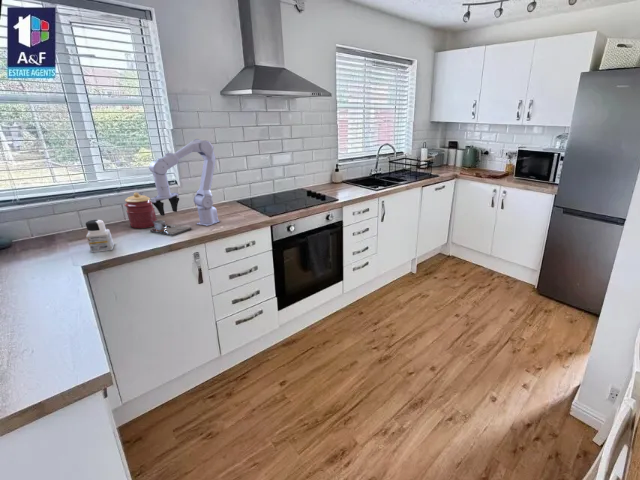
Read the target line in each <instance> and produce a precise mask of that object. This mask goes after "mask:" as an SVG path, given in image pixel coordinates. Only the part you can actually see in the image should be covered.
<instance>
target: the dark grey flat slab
mask: <svg viewBox="0 0 640 480" xmlns="http://www.w3.org/2000/svg"><path fill="white" fill-rule="evenodd" d="M167 225H168V226H171V228H168V227H166V228H165V229H164V230H157V229H155V228H153V229H150V233H154V234H159V235H165V236H172V237H174V236H177V235H180V234H182V233H183V234H184V233H185V232H188V231H192V227H189V226H182V225H177V224H171V223H168V224H167Z"/></svg>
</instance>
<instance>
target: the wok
mask: <svg viewBox="0 0 640 480" xmlns="http://www.w3.org/2000/svg"><path fill="white" fill-rule="evenodd" d="M152 223H153V224H154V226H153V229H157V230H164V229H165V228H166V227H168V228H171V226H168V224H166V220H164V219H157V221H153V222H152Z"/></svg>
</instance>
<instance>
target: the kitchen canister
mask: <svg viewBox="0 0 640 480" xmlns="http://www.w3.org/2000/svg"><path fill="white" fill-rule="evenodd" d="M124 201H125V203H124V207H125V208H126V211H125V213H126V214H127V218H128V221H129V222H128V223H129V225H130V227H131V228H133V229H147V228H152V227H153V228H154V224H153V223H152V222H153V221H157V220H158V218H157V215H156V214H157V213H156V211H155V210H156V209H155V207H154V205H153V204H152V202H151V198H150V197H149V196H147V195H144V194H143V195H142V194H140V193H139V192H136V191H135V192H134V193H133V195H131V196H128V197H127V198H125V200H124Z"/></svg>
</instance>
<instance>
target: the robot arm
mask: <svg viewBox="0 0 640 480" xmlns="http://www.w3.org/2000/svg"><path fill="white" fill-rule="evenodd" d="M214 149H215V146H213V144H212V142H211V141H209V140H206V139H201V138H200V139H199V138H194V139H193V140H191V141H189V142H188V143H187V144H186V145H184V146H183V147H181V148H179V149H178V150H177V151H175V152H174V153H173V152H166V153H164V155H163V156H162V157H160V158H157V159H156V160H153V161H151V162H150V163H149V167H148V169H149V171H150V172H151V173H152V176H153V180H154V184H155V189H156V192H157V195H156V196H154V197H151V198H150V201H151V202H152V205H153V207H154V208H156V210H157V211H158V213H159V215H160V216H163V217H164V216H165V215H166V213H165V206H164V204H165V203H164V202H162V201H166V200H168V201H169V203H170V207H171V210H172V212H173V213H177V212H178V205H179V201H180V197H179V195H180V194H179V192H171V189H170V185H169V180H168V176H167V173H168V170H170V169H171V168H173V167H174V166H176V165H178V164H179V162H180V160H181V159H182V158H184V157H186V156H188V155H190V154H191V153H197V154H199V155H200V156H201V158H202V159H203V164H202V169H201V176H200V181H199V182H200V183H199V188H198V190H197V191H196V193H195V195H194V197H193V203H194V204H195V205H196V207H197V209H196V210H197V214H198V219H199V222H196V225H200V226H205V227H209V226H212V225H214V224H218V223H220V222H221V221H220V220H219V215H218V210H217V208H216V207H215V206H213V204H214V201H213V200H214V199H213V194H212V192H211V189H212V184H213V179H214V178H213V177H214V172H215V166H216V161H217V160H216V154H215V152H214Z"/></svg>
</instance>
